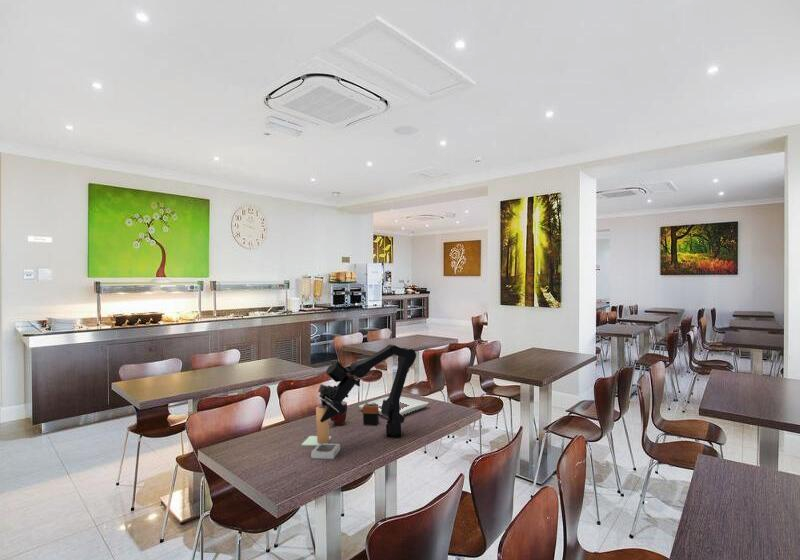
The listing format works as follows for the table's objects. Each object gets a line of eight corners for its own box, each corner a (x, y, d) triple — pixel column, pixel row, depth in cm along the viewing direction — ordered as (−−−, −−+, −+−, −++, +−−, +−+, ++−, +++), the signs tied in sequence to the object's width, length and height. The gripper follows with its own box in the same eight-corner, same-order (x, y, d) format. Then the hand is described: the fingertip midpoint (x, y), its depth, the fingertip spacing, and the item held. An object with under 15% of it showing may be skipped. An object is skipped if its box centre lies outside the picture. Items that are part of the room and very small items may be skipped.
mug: (340, 429, 202) (339, 407, 202) (325, 427, 205) (324, 406, 205) (350, 421, 212) (349, 401, 212) (335, 420, 214) (335, 400, 214)
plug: (330, 439, 177) (329, 404, 177) (326, 444, 172) (325, 407, 172) (320, 439, 178) (318, 403, 178) (315, 443, 173) (313, 407, 173)
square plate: (429, 408, 229) (429, 401, 229) (394, 422, 209) (393, 414, 209) (393, 400, 248) (393, 393, 248) (357, 412, 228) (357, 404, 228)
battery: (376, 425, 205) (376, 404, 205) (363, 425, 206) (362, 404, 206) (379, 422, 209) (378, 402, 209) (365, 422, 211) (365, 401, 211)
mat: (331, 437, 191) (331, 436, 191) (323, 446, 181) (323, 445, 181) (309, 437, 193) (309, 435, 193) (301, 445, 183) (301, 444, 183)
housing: (340, 449, 177) (339, 443, 177) (333, 458, 168) (333, 452, 168) (319, 449, 178) (319, 443, 178) (311, 458, 169) (311, 452, 169)
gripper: (322, 373, 185) (298, 403, 180) (337, 381, 169) (311, 414, 164) (340, 388, 189) (317, 418, 184) (357, 397, 173) (332, 430, 167)
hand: (319, 419), depth 175 cm, fingers closed on plug, 5 cm apart
